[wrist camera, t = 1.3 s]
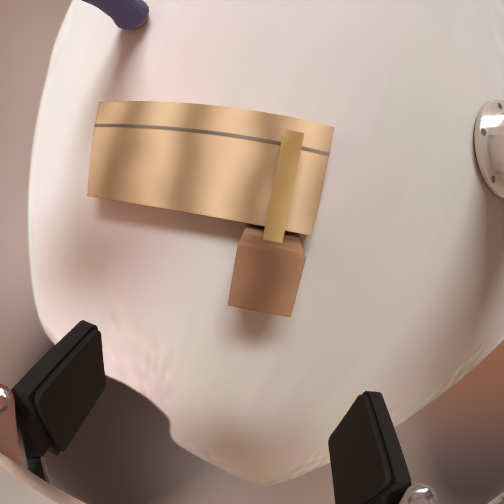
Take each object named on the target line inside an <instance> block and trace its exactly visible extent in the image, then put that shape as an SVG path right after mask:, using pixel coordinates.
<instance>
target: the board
mask: <svg viewBox="0 0 504 504" xmlns="http://www.w3.org/2000/svg"><path fill="white" fill-rule="evenodd" d="M284 129H287V130H292V131H297V132H302V133H304V137H303V143H302V148H301V153H300V158H299V163H298V169H297V174H296V179H295V184H294V189H293V194H292V199H291V203H290V208H289V213H288V218H287V223H286V227H285V230H286V231H291V232H296V233H301V234H305V235H310V236H312V232H313V228H314V224H315V219H316V215H317V211H318V206H319V201H320V197H321V192H322V188H323V183H324V178H325V173H326V168H327V163H328V158H329V153H330V148H331V142H332V137H333V131H334V127H331V126H327V125H323V124H319V123H315V122H310V121H306V120H301V119H296V118H292V117H287V116H281V115H276V114H270V113H265V112H258V111H252V110H245V109H238V108H230V107H222V106H213V105H203V104H191V103H176V102H151V101H115V102H99V106H98V111H97V116H96V122H95V128H94V135H93V142H92V150H91V158H90V168H89V179H88V194H87V196H89V197H96V198H102V199H109V200H116V201H122V202H129V203H135V204H141V205H147V206H154V207H160V208H166V209H172V210H177V211H183V212H189V213H195V214H200V215H206V216H212V217H217V218H223V219H228V220H234V221H239V222H244V223H250V224H255V225H260V226H265V224H266V219H267V214H268V209H269V203H270V198H271V193H272V188H273V183H274V177H275V172H276V167H277V162H278V156H279V151H280V146H281V140H282V135H283V130H284Z"/></svg>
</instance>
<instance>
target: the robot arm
mask: <svg viewBox="0 0 504 504" xmlns="http://www.w3.org/2000/svg"><path fill="white" fill-rule="evenodd" d="M474 143H475V152H476V157H477V162H478V165H479V168H480V171H481V174H482V176H483V178H484V180H485V182H486V184H487V185H488V187H489V188H490V189H491V190H492V191H493V193H494V194H496V195H497V196H499V197H501V198H504V101H502V100H495V101H491V102H488V103H487V104H485V105H484V106H483V108H482V109H481V110H480V112H479V114H478V117H477V120H476V124H475V132H474ZM105 385H106V380H105V372H104V363H103V352H102V340H101V332H100V331H98V328H97V326H96V325H93V324H91V323H89V322H86V321H84V320H82V321H80V322H79V323H78V324H77V325H76V326H75V327H74V328H73V329H72V330H71V331H70V332H69V333H68V334H66V335H65V336H64V337H63V338H62V339H61V340H60V341H59V342H58V343H57V344H56V345H55V346H54V347H53V348H51V349H50V350H49V351H48V352H47V353H46V354H45V355H44V356H43V357H42V358H41V359H40V360H39V361H38V362H37V363H36V364H35V365H34V366H33V367H32V368H31V369H30V370H29V371H28V373H27V374H26V375H25V376H24V377H23V378H22V379H21V380H20V381H19V382H18V383H17V384H16V385H15V386H14V388H13V389H12V390H10V389H9V388H8V387H7V386H5V385H3V384H0V504H85V503H83V502H81V501H79V500H77V499H76V498H74V497H72V496H70V495H68V494H66V493H64V492H63V491H61V490H59V489H57V488H56V487H54V486H52V485H51V484H50V481H49V477H48V474H47V470H46V466H45V462H44V458H43V455H44V454H45V452H46V451H47V450H49V451H50V452H52V453H53V454H55V455H58V454H59V452H60V451H62V452H63V451H65V450H66V448H67V447H68V445H69V444H70V442H71V440H72V439H73V437H74V435H75V433H76V432H77V431H78V429H79V427H80V426H81V424H82V422H83V421H84V420H85V418H86V417H87V415H88V413H89V412H90V410H91V409H92V407H93V406H94V404H95V403H96V401H97V400H98V398H99V396H100V395H101V394H102V392H103V390H104V388H105ZM328 445H329V453H330V461H331V469H332V477H333V486H334V495H335V504H437V495H436V493H435V491H434V490H433V488H432V487H430V486H429V485H427V484H424V483H416V484H413V485H411V478H410V475H409V472H408V468H407V465H406V462H405V459H404V456H403V453H402V450H401V447H400V444H399V441H398V438H397V435H396V433H395V429H394V426H393V423H392V421H391V418H390V415H389V412H388V410H387V407H386V404H385V402H384V399H383V396H382V394H381V393H380V392H370V391H365V392H364V393H363V394H362V395H359V396H358V397H357V399H356V400H355V402H354V403H353V405H352V406H351V408H350V409H349V411H348V412H347V414H346V415H345V416H344V418H343V419H342V421H341V422H340V423H339V425H338V426H337V428H336V429H335V430H334V432H333V433H332V434H331V436H330V438H329V442H328Z"/></svg>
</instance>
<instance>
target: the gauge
mask: <svg viewBox="0 0 504 504" xmlns="http://www.w3.org/2000/svg"><path fill="white" fill-rule="evenodd" d="M303 137H304V133H302V132H297V131H292V130H287V129H284V130H283V135H282V140H281V146H280V151H279V156H278V162H277V167H276V172H275V177H274V183H273V188H272V193H271V198H270V203H269V209H268V214H267V219H266V224H265V226H260V225H255V224H250V223H247V225H246V228H245V230H244V232H243V234H242V237H241V239H240V241H239V243H238V247H237V253H236V259H235V265H234V271H233V277H232V283H231V289H230V295H229V301H228V306H233V307H238V308H243V309H248V310H254V311H259V312H264V313H270V314H275V315H281V316H287V317H291V313H292V310H293V306H294V303H295V299H296V295H297V291H298V288H299V284H300V280H301V276H302V272H303V268H304V264H305V260H306V256H305V253H304V250H303V247H302V244H301V241H300V238H299V235H298V233H296V232H291V231H286V230H285V227H286V223H287V218H288V213H289V208H290V203H291V199H292V194H293V189H294V184H295V179H296V174H297V169H298V163H299V158H300V153H301V148H302V143H303Z"/></svg>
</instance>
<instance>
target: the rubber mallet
mask: <svg viewBox="0 0 504 504" xmlns="http://www.w3.org/2000/svg"><path fill="white" fill-rule="evenodd" d="M82 1H85V2H87V3H89V4H92V5H94V6H96V7H97V8H99V9H100V10H102V11H103V12H104V13H106V14H107V15H108V16H110V17H111V18H112V19H113V20H114V22H115V24H116V25H117V26H118V27H119V28H121V29H137V28H139V27H141V26H142V25H143V24H144V23H145V22H146V21H147V19H148V13H149V7H148V6H147V4H146V3H145V2H144V1H143V0H82Z"/></svg>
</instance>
